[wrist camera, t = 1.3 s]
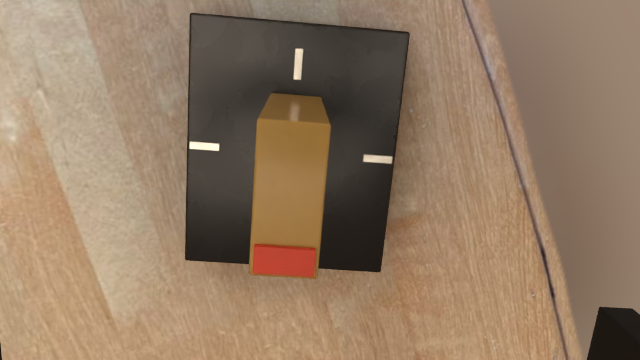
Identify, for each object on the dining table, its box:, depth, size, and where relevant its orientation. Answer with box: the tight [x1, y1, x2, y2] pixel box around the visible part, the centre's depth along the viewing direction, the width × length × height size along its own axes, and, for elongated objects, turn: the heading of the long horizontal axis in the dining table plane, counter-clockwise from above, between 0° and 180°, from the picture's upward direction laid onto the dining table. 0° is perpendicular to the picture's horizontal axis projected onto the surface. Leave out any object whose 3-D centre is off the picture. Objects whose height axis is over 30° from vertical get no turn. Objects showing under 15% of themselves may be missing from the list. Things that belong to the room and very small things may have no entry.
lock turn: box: [249, 93, 331, 279], centre depth 22 cm, size 6×2×8 cm, turn 175°
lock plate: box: [185, 13, 410, 272], centre depth 27 cm, size 12×10×3 cm
